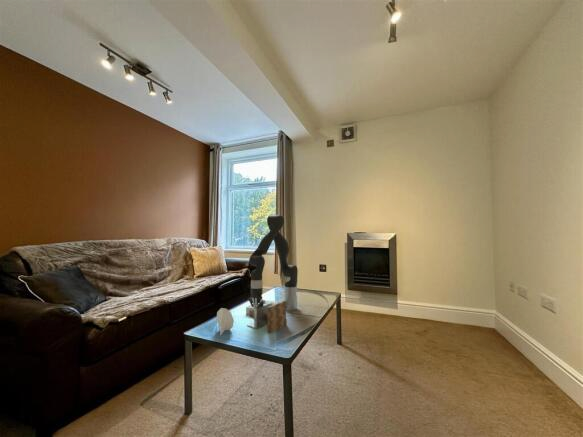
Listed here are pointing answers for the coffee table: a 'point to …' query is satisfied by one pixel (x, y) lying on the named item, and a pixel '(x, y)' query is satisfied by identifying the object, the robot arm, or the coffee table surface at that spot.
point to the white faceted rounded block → (224, 320)
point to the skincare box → (263, 304)
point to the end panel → (276, 316)
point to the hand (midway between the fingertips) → (256, 314)
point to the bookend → (260, 316)
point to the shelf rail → (253, 316)
